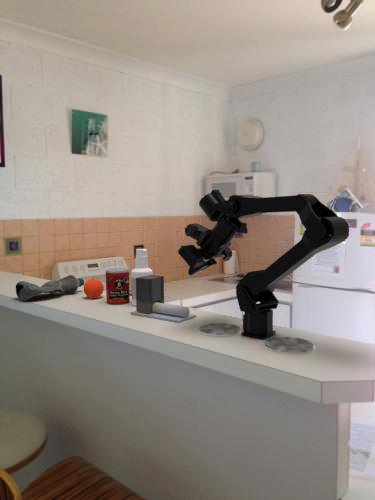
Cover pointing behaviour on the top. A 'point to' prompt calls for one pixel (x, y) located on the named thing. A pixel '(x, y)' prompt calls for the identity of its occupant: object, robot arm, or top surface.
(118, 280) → the canned food
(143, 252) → the spray bottle
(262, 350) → the top surface
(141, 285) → the sleeve
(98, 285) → the clementine
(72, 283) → the crushed bottle
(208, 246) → the robot arm
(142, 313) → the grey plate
